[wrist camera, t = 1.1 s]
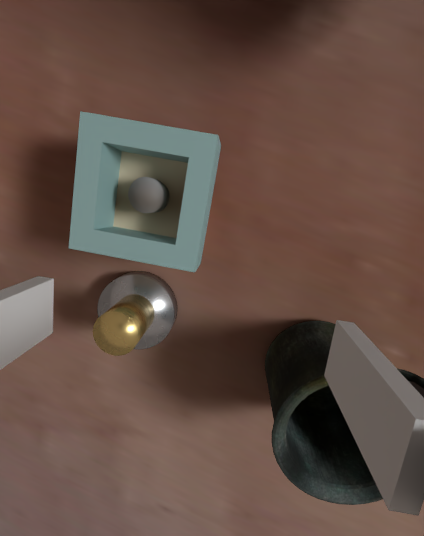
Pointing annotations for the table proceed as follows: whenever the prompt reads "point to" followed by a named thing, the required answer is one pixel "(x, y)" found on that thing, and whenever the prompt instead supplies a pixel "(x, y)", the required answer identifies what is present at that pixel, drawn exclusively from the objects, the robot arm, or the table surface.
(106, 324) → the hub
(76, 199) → the teal square ring
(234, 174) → the table surface
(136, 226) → the stand
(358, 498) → the mug
